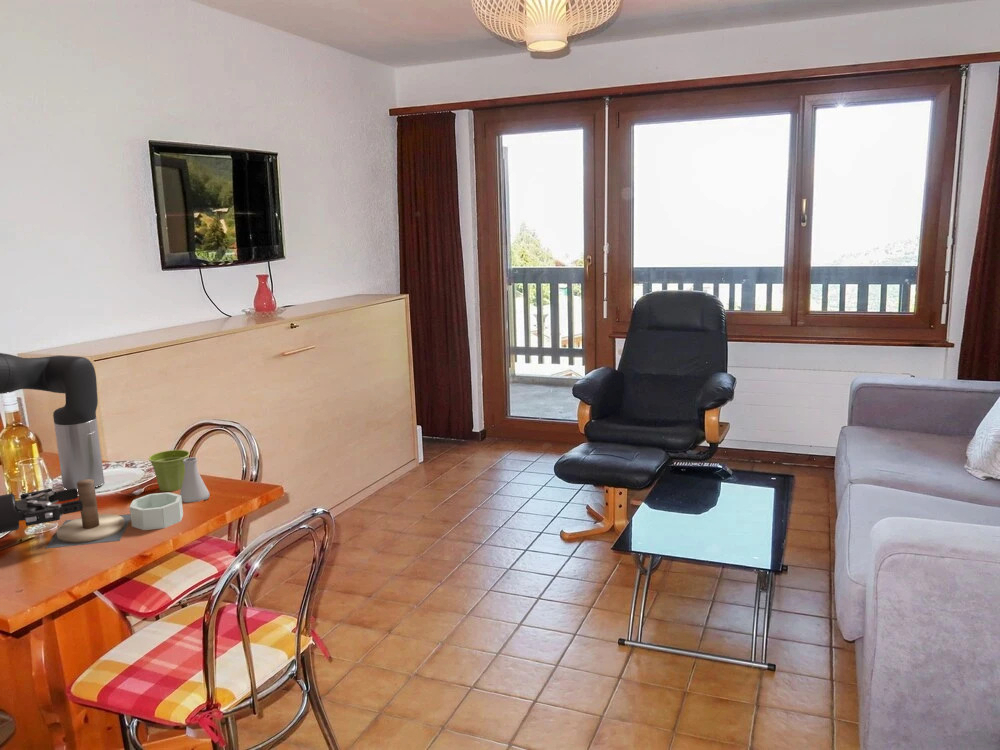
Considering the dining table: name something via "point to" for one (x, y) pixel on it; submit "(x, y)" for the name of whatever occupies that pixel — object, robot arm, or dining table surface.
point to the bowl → (156, 511)
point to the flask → (193, 483)
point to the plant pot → (169, 468)
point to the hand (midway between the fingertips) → (79, 498)
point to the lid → (89, 519)
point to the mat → (116, 537)
